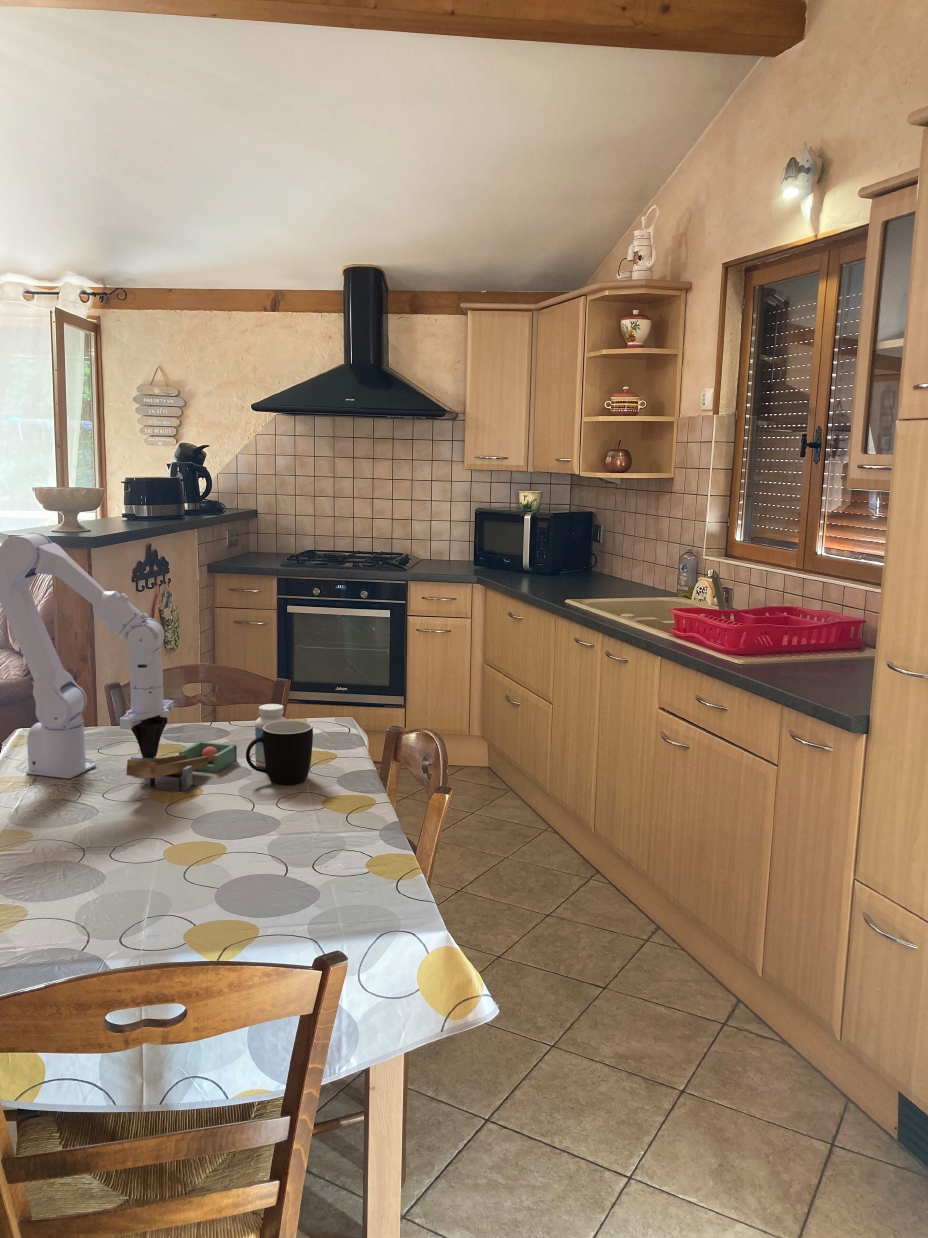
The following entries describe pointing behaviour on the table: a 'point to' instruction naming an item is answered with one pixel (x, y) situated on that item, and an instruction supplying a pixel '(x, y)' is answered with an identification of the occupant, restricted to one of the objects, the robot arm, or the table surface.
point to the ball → (209, 753)
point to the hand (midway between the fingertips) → (149, 757)
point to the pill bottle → (267, 715)
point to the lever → (162, 765)
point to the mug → (285, 751)
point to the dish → (221, 759)
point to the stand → (172, 782)
